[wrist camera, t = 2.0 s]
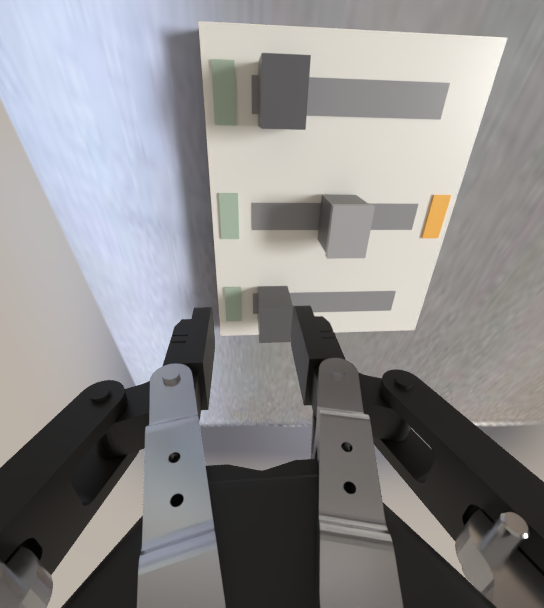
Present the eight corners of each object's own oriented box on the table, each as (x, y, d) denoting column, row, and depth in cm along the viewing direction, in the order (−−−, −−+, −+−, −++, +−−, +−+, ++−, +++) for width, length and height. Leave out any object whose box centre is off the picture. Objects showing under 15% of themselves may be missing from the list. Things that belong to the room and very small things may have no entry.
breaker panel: (484, 43, 25) (553, 25, 20) (405, 317, 39) (432, 352, 33) (202, 29, 23) (190, 4, 18) (221, 322, 37) (218, 360, 31)
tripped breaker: (357, 193, 28) (375, 206, 24) (349, 240, 30) (365, 258, 26) (321, 193, 27) (333, 206, 24) (316, 240, 30) (326, 258, 26)
